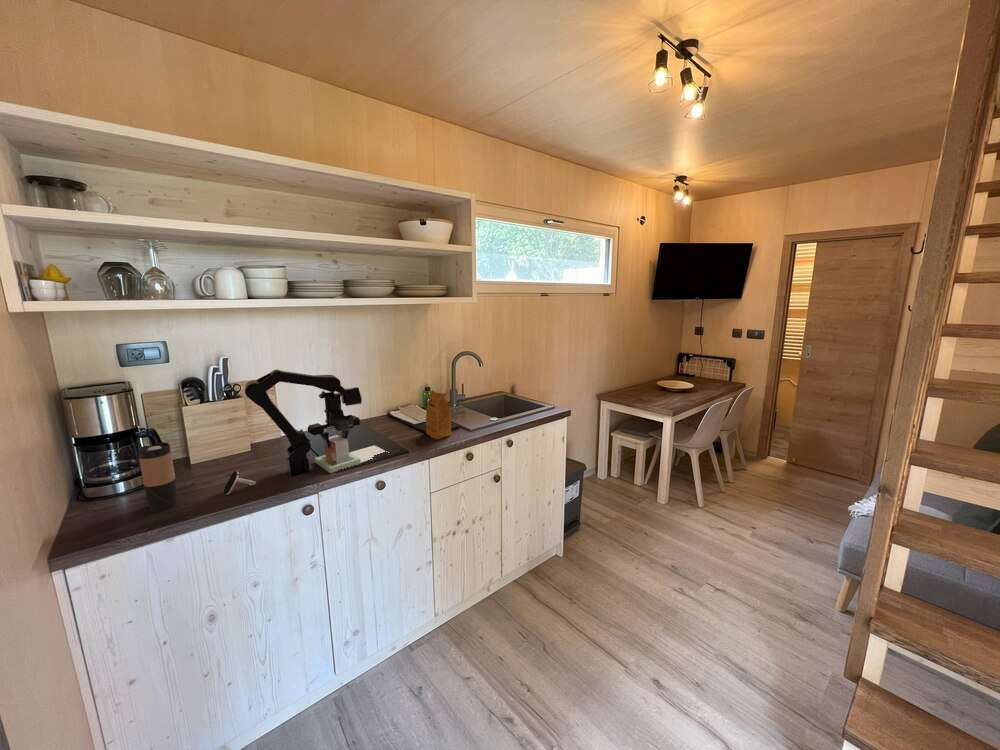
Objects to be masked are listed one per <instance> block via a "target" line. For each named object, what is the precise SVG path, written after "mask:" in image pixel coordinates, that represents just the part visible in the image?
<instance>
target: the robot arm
mask: <svg viewBox="0 0 1000 750" xmlns="http://www.w3.org/2000/svg"><path fill="white" fill-rule="evenodd" d="M278 383H287V384H295V385H302V386H309V387H310V386H311V387H315V388H316V389H317V388H318V389H320V390H322V391H321V392H320V393H319V395H318V397H319V399H324V407H325V409H324V413H325V417H326V418H325V421H324V422H325V424H321V423H318V422H317V423H313V424H309V425H308V427H307V433H309V434H310V435H312V436H317V435H319V436H321V438H322V440H323V442H324V445H325V444H326V445H327V447H328V448H330V443H329V436H330V435H329V434H330V432H328V430H329V429H333V428H334V429H335V431H337V432H340V431H341V437H343V438H346V439H348V436H349V433H350V431H351V430H352V429H354V428H355V427H356V426H359V425H361V419H360V418H359V417H358V416H356V415H352V414H349V415H345V414H344V410H343V409H342V404H343V405H345V407H348V406H355V405H361V404H362V395H361V392H360V388H359V387H358V386H354V387H351V388H345V387H344V386H342V383H341V380H340V379H339V378H338V377H336V376H335V375H333V374H318V375H313V374H305V373H301V372H300V373H298V372H292V371H285V370H280V369H274V370H271V372H269V373H267V374H265V375H263V376H261V377H259V378H258V379H256V380H254V379H253V380H250V381H248V382H247V383H245V385H244V394H245V396H246V397H247V398H248V399H249V400H250V401H252V402H253V403H254V404H255V405H257V406H258V407H260V408H261V409H262V410H263V411H264V412H265V413H266V414H267V415H268V417H269V418H270V419H271V421H273V423H275V425H276V426H277V427H278V428H279V429H280V431H281V432H282V433H283V434H284V435H285V436H286V438H287V440H288V441H289V443H290V445H289V447H288V448H286V454H287V457H286V458H285V459H286V466H287V470H286V473H287V474H288V475H289V476H290V477H291V478H293V477H297V476H301V475H303V474H307V473H309V472H311V471H310V463H309V462H310V461H309V458H308V456H307V454H308V453H309V452H310V451H311V449H312V448H311V447H312V444H311V438H310V437H309V435H307V434H306V433H305V432H304V430H303V428H300V430H298V429H296V428H295V427H294V425H292V424H291V422H290V421H289V419H287V418H286V417H285V415H284V414H283V413H282V412H281V410H280V409H279V408H278V407H277V405H275V403H274V402H273V401H272V400H271V398H270V396H269V393H268V392H267V391H269V390H270V389H271V388H273V387H275V385H276V384H278ZM325 391H327V392H325ZM335 392H336V393H335Z"/></svg>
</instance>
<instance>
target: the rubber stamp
mask: <svg viewBox="0 0 1000 750" xmlns="http://www.w3.org/2000/svg"><path fill="white" fill-rule="evenodd" d="M239 474H240V472H239V471H234V472H233V473H232V474H231V475H230V477H229V479H228V481H227V482H226V483H225V487H224V489H223V494H224V495H225V496H228V495H229V494H231V492H232V491H233V488H234V487H235V485H236V483H241V484H246V485H249V486H255V485H256V484H257V481H255V480H251V479H246V478H241V477H239Z"/></svg>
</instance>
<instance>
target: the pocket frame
mask: <svg viewBox="0 0 1000 750" xmlns="http://www.w3.org/2000/svg"><path fill="white" fill-rule="evenodd" d="M314 463H315V464H316V465H318V466H319V467H321V468H322V469H324V470H325V471H326V472H328V473H330V474H332V473H336V472H339V471H341V470H340V469H342V470H345V469H347V467H348V468H350V467H351V466H352V467H355V466H358V465H360V464H361V459H359V458H358V457H356V456H354V455H353V454H351V453H349V461H347V462H343V463H340V464H337V465H333V466H332V465H330V464H329V463H327V462H326V455H325V454H323V455H321V456H317V457H314ZM354 465H355V466H354ZM361 465H362V464H361ZM344 468H345V469H344ZM338 470H339V471H338Z"/></svg>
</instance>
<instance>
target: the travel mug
mask: <svg viewBox="0 0 1000 750" xmlns="http://www.w3.org/2000/svg"><path fill="white" fill-rule="evenodd" d="M137 454H138V459H139V465H140V466H139V467H140V472H141V478H142V482H143V483H142V484H143V488H144V493H145V496H146V501H147V505H148V509H149V512H153V513H155V512H156V513H158V512H163V511H167V510H168V511H169V510H170V509H173V508H174V507H176V506H178V504H179V495H178V489H177V488H178V487H177V479H176V473H175V467H174V462H173V456H172V452H171V445H170V443H168V442H157V443H155V444H154V445H153V444H152V445H143V446H140V447H139V448H138V449H137Z"/></svg>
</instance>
